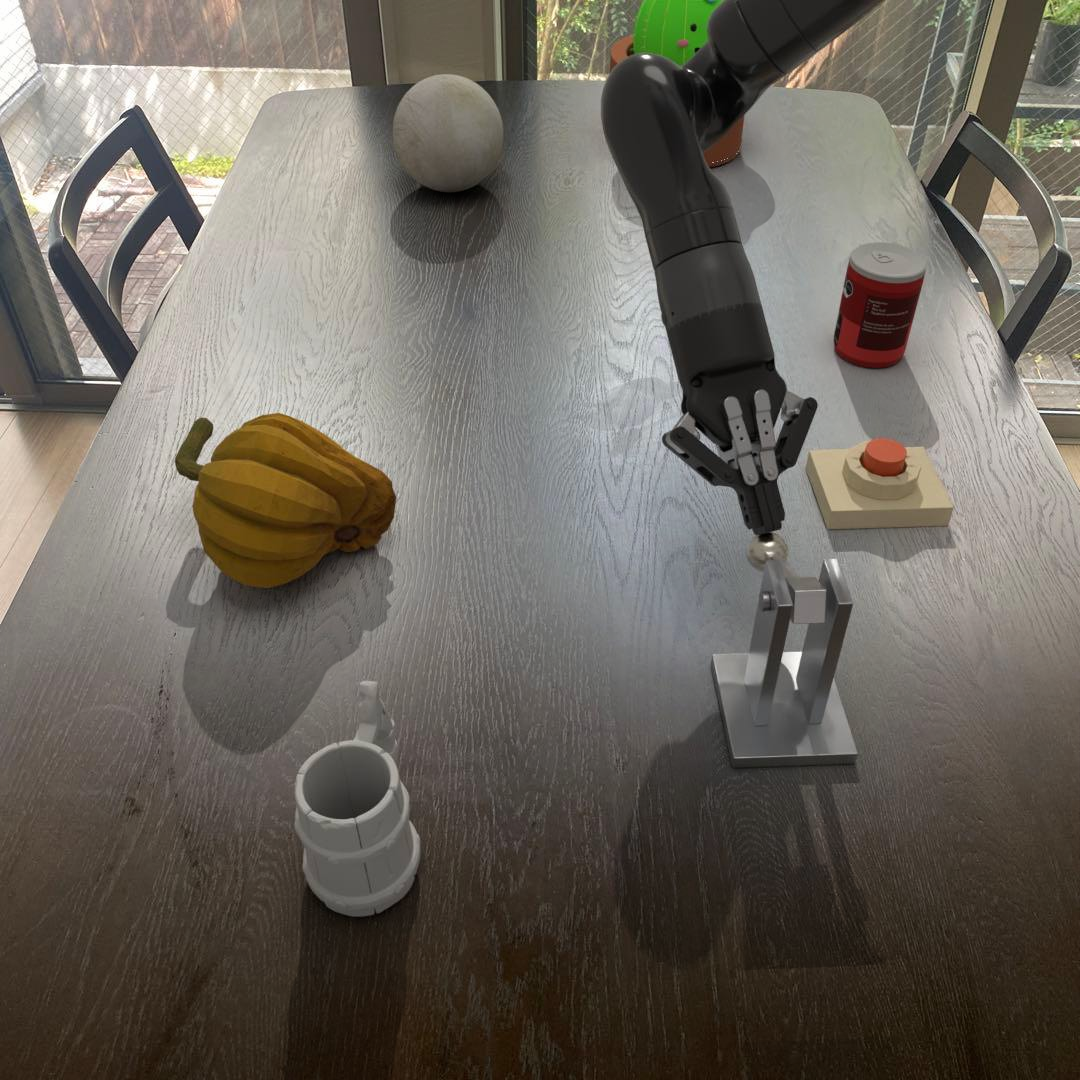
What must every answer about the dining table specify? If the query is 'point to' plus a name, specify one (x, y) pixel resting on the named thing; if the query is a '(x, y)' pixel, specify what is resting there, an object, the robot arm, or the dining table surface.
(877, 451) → the button
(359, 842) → the mug
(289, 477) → the pumpkin
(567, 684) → the dining table surface
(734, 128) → the potted cactus
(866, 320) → the canned food
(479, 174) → the decorative sphere
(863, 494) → the button box
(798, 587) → the grey lever handle
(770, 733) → the metal lever switch
